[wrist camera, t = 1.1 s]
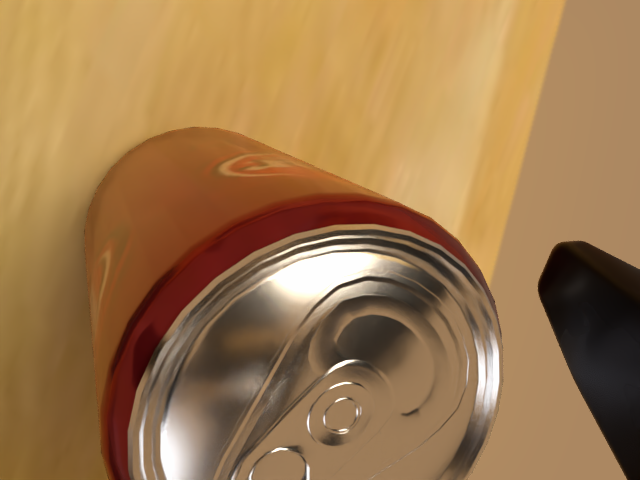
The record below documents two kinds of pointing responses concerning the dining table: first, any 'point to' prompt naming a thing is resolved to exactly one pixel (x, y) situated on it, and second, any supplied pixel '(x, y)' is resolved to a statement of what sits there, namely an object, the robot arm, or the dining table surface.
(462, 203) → the dining table surface
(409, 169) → the dining table surface
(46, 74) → the dining table surface
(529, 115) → the dining table surface
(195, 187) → the soda can
